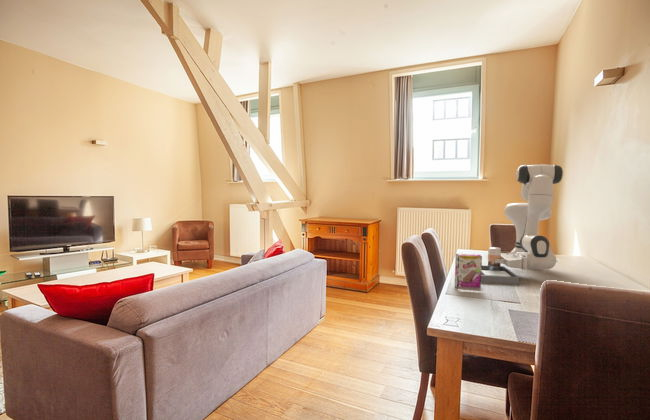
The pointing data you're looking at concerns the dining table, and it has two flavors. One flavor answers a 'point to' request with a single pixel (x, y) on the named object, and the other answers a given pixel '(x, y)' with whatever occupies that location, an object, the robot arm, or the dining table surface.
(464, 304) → the dining table surface
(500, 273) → the white rectangular block
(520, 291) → the dining table surface
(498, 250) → the steel tin
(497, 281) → the tray
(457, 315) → the dining table surface
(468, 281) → the candy bar box
